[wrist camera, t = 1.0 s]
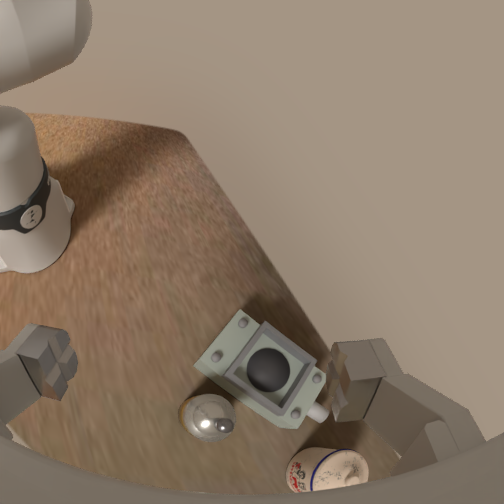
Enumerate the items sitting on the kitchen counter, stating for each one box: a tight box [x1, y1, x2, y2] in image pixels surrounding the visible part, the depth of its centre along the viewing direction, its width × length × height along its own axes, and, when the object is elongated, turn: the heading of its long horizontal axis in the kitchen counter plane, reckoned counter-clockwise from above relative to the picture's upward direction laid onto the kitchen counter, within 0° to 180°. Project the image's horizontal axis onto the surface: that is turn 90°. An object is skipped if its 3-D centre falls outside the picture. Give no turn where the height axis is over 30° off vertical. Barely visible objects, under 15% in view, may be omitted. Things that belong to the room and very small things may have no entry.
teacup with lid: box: [286, 447, 369, 493], centre depth 31 cm, size 12×9×12 cm
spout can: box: [178, 394, 236, 442], centre depth 31 cm, size 6×6×13 cm
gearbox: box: [193, 309, 329, 429], centre depth 39 cm, size 20×9×8 cm, turn 54°
